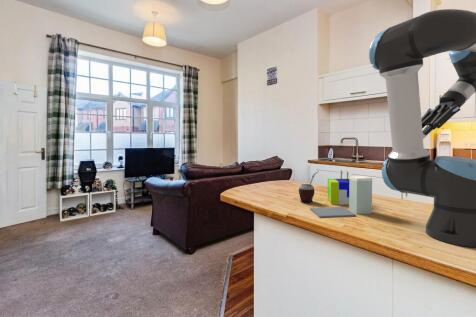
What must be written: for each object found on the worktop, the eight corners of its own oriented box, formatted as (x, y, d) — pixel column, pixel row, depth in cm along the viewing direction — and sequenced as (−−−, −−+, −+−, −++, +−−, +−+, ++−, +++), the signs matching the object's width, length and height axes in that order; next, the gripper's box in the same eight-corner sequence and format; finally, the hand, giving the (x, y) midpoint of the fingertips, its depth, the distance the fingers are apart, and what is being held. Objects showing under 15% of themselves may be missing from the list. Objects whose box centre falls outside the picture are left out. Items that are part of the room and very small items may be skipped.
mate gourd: (296, 200, 121) (296, 169, 120) (311, 199, 123) (311, 168, 122) (304, 204, 114) (303, 171, 113) (319, 203, 116) (319, 170, 114)
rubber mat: (342, 208, 107) (342, 206, 107) (355, 216, 96) (355, 214, 96) (310, 209, 106) (310, 208, 106) (319, 217, 95) (319, 216, 95)
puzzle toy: (354, 204, 112) (354, 182, 111) (330, 204, 114) (330, 182, 113) (349, 199, 122) (349, 178, 121) (327, 198, 124) (327, 178, 123)
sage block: (363, 209, 104) (363, 175, 103) (371, 213, 98) (372, 178, 97) (349, 209, 104) (349, 176, 103) (356, 214, 98) (356, 178, 97)
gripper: (482, 100, 91) (436, 147, 92) (444, 105, 107) (405, 146, 108) (469, 85, 91) (422, 133, 91) (433, 93, 107) (393, 133, 107)
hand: (413, 139), depth 100 cm, fingers open, 3 cm apart
